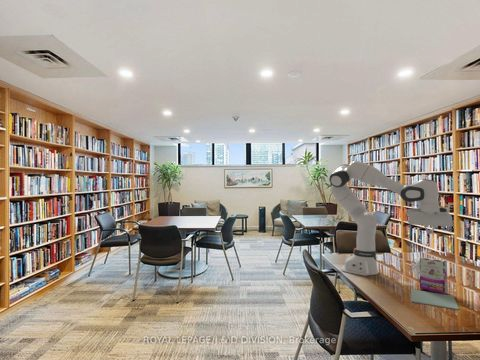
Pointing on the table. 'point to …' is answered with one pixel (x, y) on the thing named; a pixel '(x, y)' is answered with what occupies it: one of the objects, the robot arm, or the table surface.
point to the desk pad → (434, 299)
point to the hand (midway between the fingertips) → (429, 233)
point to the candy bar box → (433, 275)
